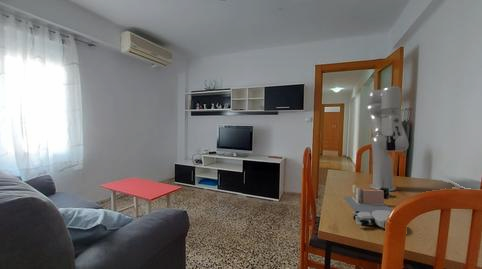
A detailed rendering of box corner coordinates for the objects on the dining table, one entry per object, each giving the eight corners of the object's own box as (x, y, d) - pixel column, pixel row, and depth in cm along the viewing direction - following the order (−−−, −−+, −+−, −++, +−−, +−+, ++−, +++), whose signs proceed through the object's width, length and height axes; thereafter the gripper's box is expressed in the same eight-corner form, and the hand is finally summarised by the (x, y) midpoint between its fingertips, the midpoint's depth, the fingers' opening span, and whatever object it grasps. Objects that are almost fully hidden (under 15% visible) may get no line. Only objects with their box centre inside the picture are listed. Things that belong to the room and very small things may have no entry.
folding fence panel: (363, 203, 97) (362, 190, 97) (361, 202, 99) (361, 189, 98) (383, 203, 96) (383, 190, 96) (382, 202, 97) (382, 190, 97)
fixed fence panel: (352, 198, 106) (352, 184, 106) (355, 198, 106) (355, 184, 106) (358, 204, 98) (358, 189, 97) (362, 204, 97) (362, 189, 97)
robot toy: (357, 232, 74) (406, 235, 70) (356, 220, 74) (405, 222, 70) (350, 218, 86) (392, 219, 81) (349, 207, 86) (391, 208, 81)
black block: (388, 201, 102) (388, 192, 102) (371, 197, 108) (371, 189, 108) (396, 195, 110) (396, 187, 110) (380, 192, 115) (380, 184, 115)
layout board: (343, 197, 108) (343, 196, 107) (377, 198, 104) (377, 198, 104) (356, 212, 89) (356, 211, 89) (398, 214, 86) (398, 213, 86)
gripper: (409, 111, 92) (408, 152, 92) (391, 113, 106) (391, 148, 107) (390, 112, 93) (390, 152, 94) (375, 113, 108) (375, 148, 108)
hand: (390, 150), depth 100 cm, fingers closed
